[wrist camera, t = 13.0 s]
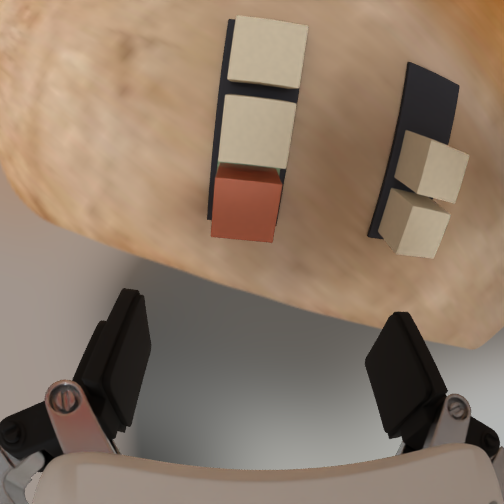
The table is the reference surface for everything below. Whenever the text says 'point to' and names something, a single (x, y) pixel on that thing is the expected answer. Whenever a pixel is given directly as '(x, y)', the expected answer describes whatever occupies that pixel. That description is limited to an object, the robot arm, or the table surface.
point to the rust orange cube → (245, 202)
